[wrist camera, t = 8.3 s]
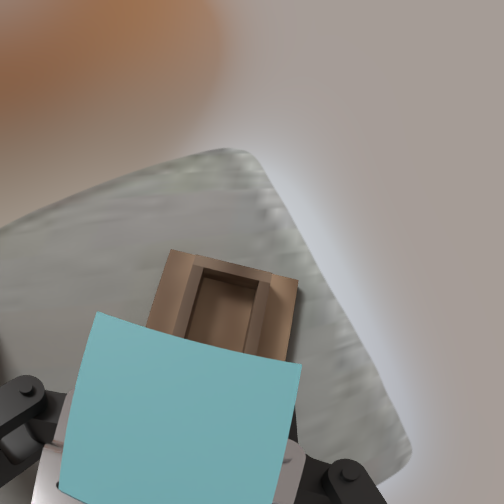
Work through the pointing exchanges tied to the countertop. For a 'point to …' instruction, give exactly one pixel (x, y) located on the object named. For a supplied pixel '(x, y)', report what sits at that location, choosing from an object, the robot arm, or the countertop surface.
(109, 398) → the post
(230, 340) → the keyhole board
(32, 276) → the countertop surface
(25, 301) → the countertop surface
